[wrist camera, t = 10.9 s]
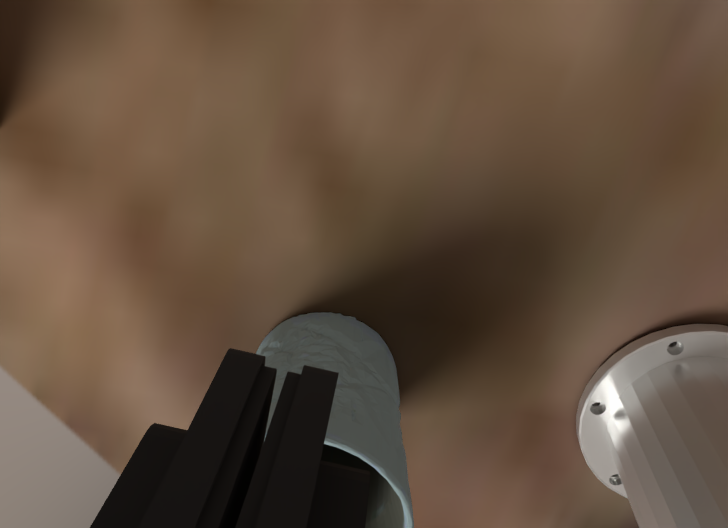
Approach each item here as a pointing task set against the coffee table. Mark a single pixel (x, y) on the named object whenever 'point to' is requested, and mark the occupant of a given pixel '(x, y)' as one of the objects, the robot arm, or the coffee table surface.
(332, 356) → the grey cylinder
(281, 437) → the robot arm
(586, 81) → the coffee table surface
